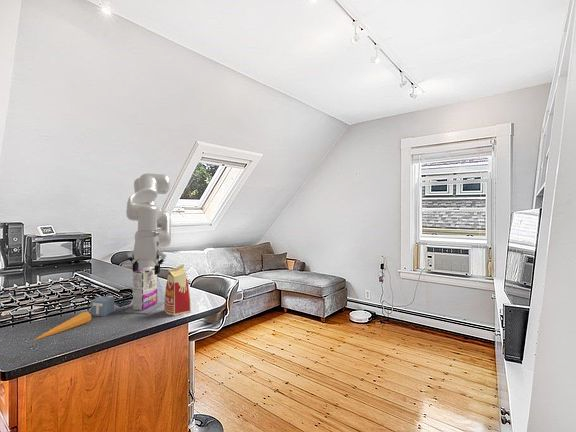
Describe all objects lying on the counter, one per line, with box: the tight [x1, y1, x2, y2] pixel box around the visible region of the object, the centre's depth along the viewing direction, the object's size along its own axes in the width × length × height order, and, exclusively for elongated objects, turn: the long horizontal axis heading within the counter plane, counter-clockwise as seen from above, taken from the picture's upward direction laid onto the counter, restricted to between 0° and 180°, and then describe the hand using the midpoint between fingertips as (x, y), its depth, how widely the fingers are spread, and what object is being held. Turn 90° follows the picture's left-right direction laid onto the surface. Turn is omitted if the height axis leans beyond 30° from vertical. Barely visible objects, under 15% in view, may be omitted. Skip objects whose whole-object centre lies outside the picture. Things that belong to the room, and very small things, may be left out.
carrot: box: [32, 311, 92, 341], centre depth 113 cm, size 20×4×4 cm, turn 159°
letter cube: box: [89, 295, 115, 317], centre depth 131 cm, size 6×6×6 cm
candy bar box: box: [132, 267, 158, 311], centre depth 140 cm, size 11×5×16 cm, turn 171°
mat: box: [123, 301, 164, 315], centre depth 140 cm, size 15×10×1 cm, turn 175°
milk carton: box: [163, 263, 192, 316], centre depth 136 cm, size 9×9×20 cm
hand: (146, 273), depth 140 cm, fingers open, 9 cm apart
